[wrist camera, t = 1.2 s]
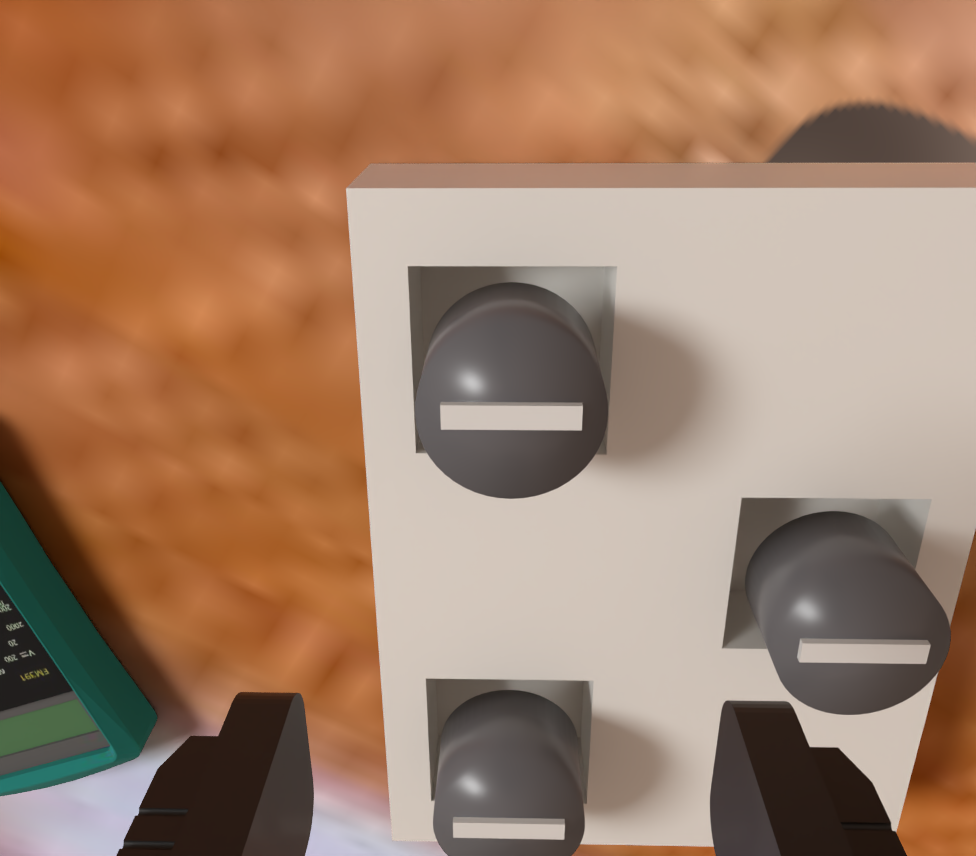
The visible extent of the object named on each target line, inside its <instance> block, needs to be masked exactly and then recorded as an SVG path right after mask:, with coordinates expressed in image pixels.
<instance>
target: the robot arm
mask: <svg viewBox="0 0 976 856" xmlns="http://www.w3.org/2000/svg"><path fill="white" fill-rule="evenodd" d="M313 801H314V788H313V777H312V768H311V760H310V751H309V743H308V734H307V726H306V717H305V709H304V702H303V698H302V696H301V694H300V693H261V692H240V693H238V694H237V695H236V697H235V698H234V700H233V702H232V704H231V707H230V709H229V712H228V714H227V717H226V719H225V721H224V724H223V726H222V729H221V731H220V733H219V736H190V737H189V738H188V739H187V740H186V741H185V742H184V743H183V744H182V745H181V746H180V747H179V748H178V749H177V750H176V751H175V752H174V753H173V754H172V755H171V756H170V757H169V758H168V759H167V760H166V761H165V762H164V763H163V764H162V765H161V766H160V767H159V768H158V769H157V772H156V774H155V776H154V778H153V780H152V782H151V784H150V786H149V788H148V790H147V793H146V795H145V797H144V799H143V801H142V803H141V805H140V807H139V814H138V816H135V818H134V820H133V822H132V824H131V826H130V828H129V830H128V833H127V835H126V837H125V839H124V846H123V848H122V849H119V851H118V854H117V856H305V853H306V849H307V845H308V841H309V836H310V831H311V824H312V816H313ZM710 822H711V832H712V839H713V845H714V849H715V853H716V856H907V855H906V853H905V851H904V849H903V846H902V844H901V842H900V840H899V838H898V836H897V834H896V832H895V831H892V828H891V821H890V819H889V817H888V815H887V813H886V810H885V808H884V806H883V804H882V802H881V800H880V798H879V796H878V793H877V791H876V789H875V787H874V785H873V783H872V782H871V781H870V779H869V778H868V777H867V776H866V775H865V774H864V773H863V772H862V771H861V770H860V769H859V768H858V767H857V766H856V765H855V764H854V763H853V762H852V761H851V760H850V759H849V758H848V757H847V756H846V755H845V754H844V753H843V752H842V751H841V750H840V749H839V748H838V747H809V744H808V742H807V739H806V737H805V734H804V732H803V729H802V727H801V724H800V722H799V720H798V717H797V715H796V712H795V710H794V708H793V707H792V705H791V704H790V703H789V702H787V701H734V700H727V701H725V702H724V704H723V707H722V711H721V717H720V724H719V731H718V739H717V746H716V754H715V761H714V768H713V776H712V783H711V791H710Z"/></svg>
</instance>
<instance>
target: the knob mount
mask: <svg viewBox="0 0 976 856" xmlns="http://www.w3.org/2000/svg"><path fill="white" fill-rule="evenodd" d="M346 193H347V208H348V222H349V236H350V250H351V264H352V278H353V292H354V306H355V320H356V334H357V349H358V363H359V377H360V391H361V405H362V419H363V433H364V447H365V461H366V475H367V490H368V504H369V518H370V532H371V546H372V560H373V574H374V588H375V602H376V616H377V631H378V645H379V659H380V673H381V687H382V701H383V715H384V729H385V743H386V757H387V772H388V786H389V800H390V814H391V828H392V841H436V842H438V841H437V839H436V837H435V834H434V829H433V813H434V803H435V794H436V784H437V774H438V764H439V754H440V744H441V735H442V730H443V727H444V725H445V722H446V721H447V719H448V717H449V716H450V715H451V714H452V712H453V711H454V710H455V709H456V708H457V707H458V706H460V705H461V704H462V703H464V702H465V701H467V700H469V699H471V698H473V697H475V696H477V695H480V694H483V693H487V692H491V691H497V690H520V691H526V692H530V693H534V694H537V695H539V696H542V697H544V698H546V699H548V700H550V701H552V702H553V703H555V704H556V705H558V706H559V707H560V708H561V709H562V710H563V711H564V712H565V713H566V714H567V715H568V716H569V718H570V719H571V721H572V723H573V724H574V727H575V730H576V733H577V738H578V750H579V761H580V772H581V783H582V794H583V806H584V817H585V830H584V835H583V838H582V841H581V843H580V844H603V845H658V846H714V845H713V839H712V832H711V822H710V791H711V783H712V776H713V768H714V761H715V754H716V746H717V739H718V731H719V724H720V717H721V711H722V707H723V704H724V702H725V701H727V700H734V701H787V702H789V703H790V704H791V705H792V707H793V708H794V710H795V712H796V715H797V717H798V720H799V722H800V724H801V727H802V729H803V732H804V734H805V737H806V739H807V742H808V744H809V747H838V748H839V749H840V750H841V751H842V752H843V753H844V754H845V755H846V756H847V757H848V758H849V759H850V760H851V761H852V762H853V763H854V764H855V765H856V766H857V767H858V768H859V769H860V770H861V771H862V772H863V773H864V774H865V775H866V776H867V777H868V778H869V779H870V781H871V782H872V783H873V785H874V787H875V789H876V791H877V793H878V796H879V798H880V800H881V802H882V804H883V806H884V808H885V810H886V813H887V815H888V817H889V819H890V821H891V828H892V831H895V832H896V831H897V827H898V823H899V820H900V816H901V812H902V808H903V804H904V800H905V797H906V793H907V789H908V785H909V781H910V778H911V774H912V770H913V766H914V762H915V758H916V755H917V751H918V747H919V743H920V739H921V736H922V732H923V728H924V724H925V720H926V716H927V713H928V709H929V705H930V701H931V697H932V694H933V690H934V686H935V682H936V678H937V674H938V673H937V674H936V676H935V677H934V678H933V679H932V680H931V681H930V682H929V683H928V684H927V685H926V686H925V687H924V688H923V689H922V690H921V691H919V692H918V693H916V694H915V695H914V696H912V697H911V698H909V699H907V700H905V701H903V702H902V703H899V704H897V705H895V706H893V707H890V708H887V709H884V710H881V711H877V712H873V713H868V714H860V715H839V714H832V713H826V712H823V711H819V710H816V709H814V708H811V707H809V706H807V705H805V704H803V703H802V702H800V701H799V700H797V699H796V698H795V697H793V696H792V695H791V694H790V693H789V692H788V691H787V689H786V688H785V687H784V685H783V684H782V682H781V681H780V678H779V676H778V674H777V672H776V669H775V667H774V664H773V662H772V659H771V657H770V654H769V652H768V649H767V647H766V644H765V642H764V639H763V637H762V634H761V632H760V629H759V627H758V624H757V622H756V620H755V617H754V615H753V612H752V610H751V607H750V605H749V602H748V599H747V596H746V591H745V576H746V571H747V567H748V565H749V562H750V559H751V558H752V556H753V554H754V552H755V551H756V549H757V548H758V547H759V545H760V544H761V543H762V542H763V541H764V540H765V539H766V537H768V536H769V535H770V534H771V533H772V532H773V531H775V530H776V529H778V528H779V527H781V526H782V525H784V524H786V523H788V522H790V521H791V520H794V519H796V518H799V517H801V516H804V515H808V514H812V513H817V512H823V511H843V512H849V513H855V514H858V515H861V516H864V517H866V518H868V519H870V520H872V521H874V522H876V523H877V524H879V525H880V526H881V527H882V528H883V529H885V530H886V531H887V532H888V534H889V535H890V536H891V537H892V539H893V540H894V541H895V543H896V544H897V546H898V547H899V548H900V550H901V551H902V552H903V554H904V555H905V557H906V558H907V559H908V561H909V562H910V563H911V565H912V566H913V568H914V569H915V570H916V572H917V573H918V574H919V576H920V577H921V578H922V580H923V581H924V583H925V584H926V585H927V587H928V588H929V589H930V591H931V592H932V594H933V595H934V596H935V598H936V599H937V600H938V602H939V603H940V605H941V606H942V608H943V609H944V611H945V613H946V615H947V618H948V621H949V624H950V625H951V621H952V617H953V613H954V610H955V606H956V602H957V598H958V594H959V591H960V587H961V583H962V579H963V575H964V571H965V568H966V564H967V560H968V556H969V552H970V549H971V545H972V541H973V537H974V533H975V529H976V163H464V164H370V165H369V166H368V167H367V168H366V169H365V170H364V171H363V172H362V173H361V174H360V175H359V176H358V177H357V178H356V179H355V180H354V181H353V182H352V183H351V184H350V185H349V186H348V187H347V188H346ZM506 282H518V283H527V284H532V285H536V286H539V287H542V288H545V289H547V290H549V291H551V292H553V293H555V294H557V295H559V296H560V297H562V298H563V299H565V300H566V301H567V302H568V303H569V304H570V305H572V306H573V307H574V308H575V309H576V311H577V312H578V313H579V314H580V315H581V317H582V318H583V320H584V321H585V323H586V324H587V326H588V328H589V331H590V333H591V335H592V338H593V342H594V345H595V349H596V353H597V357H598V361H599V365H600V369H601V373H602V377H603V381H604V385H605V389H606V394H607V400H608V421H607V427H606V431H605V435H604V438H603V440H602V443H601V445H600V447H599V449H598V451H597V452H596V454H595V456H594V457H593V459H592V460H591V461H590V463H589V464H588V465H587V466H586V467H585V468H584V469H583V470H582V471H581V472H580V473H579V474H578V475H577V476H576V477H574V478H573V479H572V480H570V481H569V482H568V483H566V484H564V485H562V486H561V487H559V488H557V489H555V490H552V491H550V492H547V493H545V494H541V495H538V496H534V497H528V498H518V499H505V498H495V497H490V496H485V495H482V494H479V493H476V492H473V491H471V490H469V489H466V488H464V487H462V486H461V485H459V484H457V483H456V482H454V481H453V480H451V479H450V478H449V477H448V476H446V475H445V474H444V473H443V472H442V471H441V470H440V469H439V468H438V467H437V466H436V465H435V464H434V462H433V461H432V460H431V458H430V457H429V456H428V454H427V452H426V450H425V449H424V447H423V445H422V442H421V440H420V437H419V434H418V430H417V426H416V419H415V401H416V395H417V390H418V386H419V382H420V378H421V374H422V370H423V366H424V363H425V359H426V355H427V351H428V347H429V343H430V340H431V337H432V334H433V332H434V330H435V328H436V326H437V324H438V322H439V321H440V319H441V318H442V316H443V315H444V314H445V312H446V311H447V310H448V309H449V308H450V307H451V306H452V305H453V304H454V303H456V302H457V301H458V300H459V299H461V298H462V297H464V296H465V295H467V294H468V293H470V292H472V291H474V290H477V289H479V288H482V287H485V286H488V285H492V284H497V283H506Z"/></svg>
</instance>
